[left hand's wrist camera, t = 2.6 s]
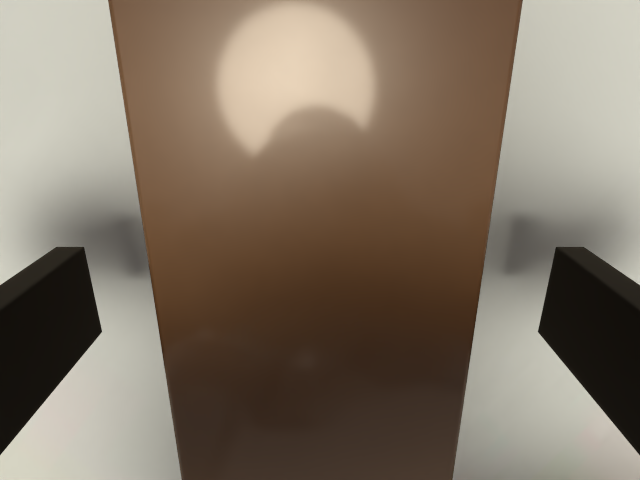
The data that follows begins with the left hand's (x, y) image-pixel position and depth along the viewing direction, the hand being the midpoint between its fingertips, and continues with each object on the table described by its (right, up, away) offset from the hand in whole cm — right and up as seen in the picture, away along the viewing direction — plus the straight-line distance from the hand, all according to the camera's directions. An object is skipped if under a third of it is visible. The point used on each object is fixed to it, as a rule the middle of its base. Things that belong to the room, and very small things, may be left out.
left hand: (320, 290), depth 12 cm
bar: (0, +8, 0) cm, 8 cm away
